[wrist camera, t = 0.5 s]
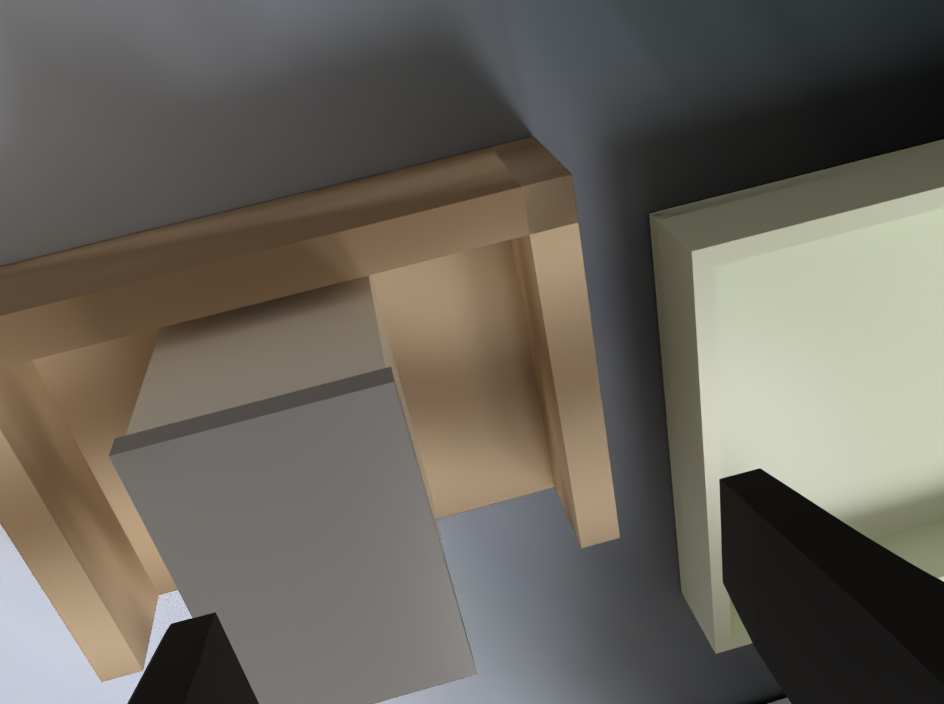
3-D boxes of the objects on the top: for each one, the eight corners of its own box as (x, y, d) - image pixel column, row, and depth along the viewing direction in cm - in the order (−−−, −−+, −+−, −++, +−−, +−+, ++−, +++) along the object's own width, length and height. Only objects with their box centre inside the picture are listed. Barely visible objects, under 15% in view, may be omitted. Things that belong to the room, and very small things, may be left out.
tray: (999, 501, 27) (1060, 553, 25) (681, 592, 26) (715, 653, 24) (1069, 107, 20) (1159, 131, 18) (649, 213, 20) (691, 251, 18)
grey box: (439, 508, 22) (481, 691, 17) (272, 553, 22) (263, 753, 17) (368, 247, 18) (393, 381, 13) (163, 297, 18) (108, 456, 13)
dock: (584, 466, 23) (619, 537, 21) (124, 591, 22) (101, 682, 20) (533, 136, 18) (571, 174, 16) (-53, 279, 18) (-114, 344, 15)
